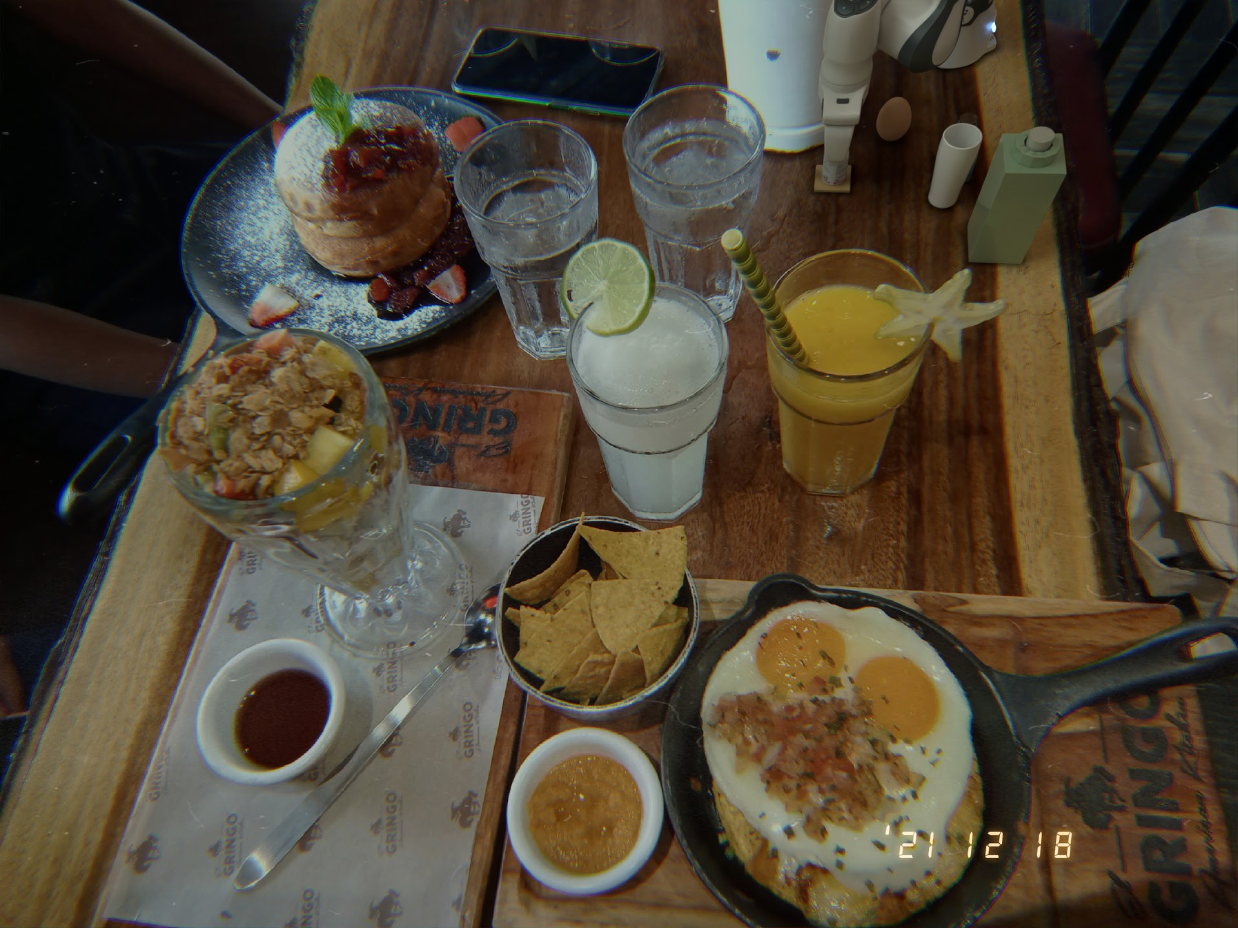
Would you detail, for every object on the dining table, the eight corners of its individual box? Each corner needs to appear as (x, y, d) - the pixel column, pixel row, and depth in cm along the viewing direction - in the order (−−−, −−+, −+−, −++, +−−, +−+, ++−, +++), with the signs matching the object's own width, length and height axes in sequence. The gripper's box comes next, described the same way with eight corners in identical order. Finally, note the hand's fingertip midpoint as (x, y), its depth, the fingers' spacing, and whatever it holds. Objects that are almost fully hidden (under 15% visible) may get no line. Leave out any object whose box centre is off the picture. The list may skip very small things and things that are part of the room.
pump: (1024, 137, 118) (1029, 126, 116) (1049, 137, 117) (1053, 126, 115) (1025, 153, 116) (1030, 142, 114) (1050, 153, 116) (1055, 142, 114)
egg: (891, 154, 150) (900, 116, 142) (866, 139, 153) (873, 101, 145) (913, 137, 151) (923, 98, 143) (888, 122, 154) (896, 83, 146)
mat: (815, 167, 152) (816, 164, 151) (850, 167, 150) (851, 165, 150) (813, 192, 149) (814, 189, 148) (849, 192, 147) (849, 190, 147)
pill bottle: (847, 170, 149) (852, 135, 142) (843, 187, 147) (849, 153, 140) (823, 168, 150) (827, 134, 143) (819, 185, 148) (823, 151, 141)
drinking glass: (916, 194, 144) (934, 131, 131) (947, 182, 145) (969, 117, 131) (935, 217, 141) (956, 154, 128) (967, 204, 142) (991, 140, 128)
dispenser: (967, 225, 139) (1006, 123, 119) (1018, 226, 138) (1067, 123, 117) (968, 262, 136) (1009, 163, 115) (1021, 264, 134) (1072, 163, 113)
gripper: (830, 44, 135) (822, 108, 148) (821, 123, 127) (814, 184, 140) (865, 43, 134) (854, 108, 146) (859, 124, 126) (848, 185, 138)
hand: (835, 146), depth 143 cm, fingers open, 8 cm apart
